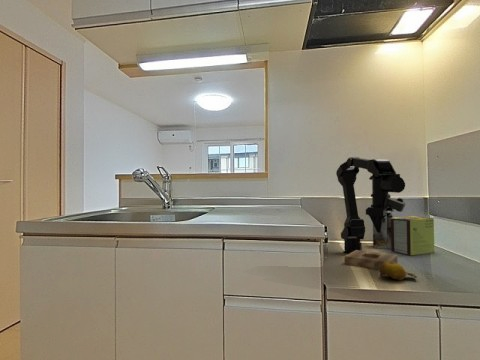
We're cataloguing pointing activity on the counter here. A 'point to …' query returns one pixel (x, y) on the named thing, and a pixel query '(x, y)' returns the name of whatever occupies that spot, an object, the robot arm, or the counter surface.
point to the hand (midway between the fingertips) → (380, 231)
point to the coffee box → (387, 243)
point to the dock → (368, 259)
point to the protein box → (412, 235)
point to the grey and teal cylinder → (383, 234)
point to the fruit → (394, 271)
